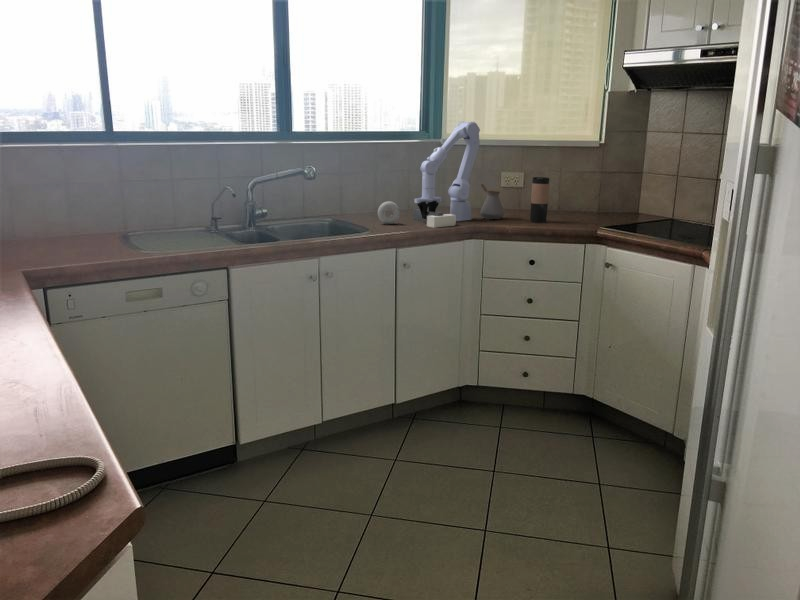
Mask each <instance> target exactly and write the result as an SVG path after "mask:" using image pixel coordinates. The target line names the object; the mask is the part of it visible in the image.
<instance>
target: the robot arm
mask: <svg viewBox="0 0 800 600" xmlns="http://www.w3.org/2000/svg"><path fill="white" fill-rule="evenodd" d="M478 125H479V124H477V122H475V121H461V122H459V123H458V124H457V126H455V127H454V129H453V130H452V132H451V134H450V135H449V136H448V138H447V139H446V140H445V141H444V142H443V144H442V145H441V146H438V147H436V148H434V149H433V152H432V153H431V154H430V155H429V156H428V157H426V160H424V161H422V162H421V164H420V165H421V166H420V167H419V170H420V172H421V174H422V178H421V197H417V198H414V199H413V200H414V204H417V207H418V209H420V211H421V215H422V219H426V217H427V210H430V211H436V209H437V208H438V206H439V203H440V202H442V196H436V195H435V193H436V173H437V172H438V170H439V166H440V165H441V164H442V163H443V161H444V160H446V158H447V157H448V152H449V150H450V149H451V148H452V147H453V146H455V144H456V143H457V142H458V141H459V140H461V139H463V140H464V142H465V144H466V147H465V150H464V154H463V157H462V160H461V163H460V166H459V170H458V173H457V175H456V178H455V179H454V180H453V181H452V184H451V186H449V188H448V191H447V193H448V196H449V197H450V204H449V205H450V209H449V210H450V211H449V214H452V215H456V222H461V221H462V222H463V221H471V220H473V218H471V217H472V204H471V201H469V200H467V199H468V198H469V196H470V188H471V185H470V183H469V180H470V177H471V173H472V170H473V167H474V163H475V161H476V157H477V154H478V151H479V148H480V144H481V143H480V131H481V129H480V127H479V126H478Z"/></svg>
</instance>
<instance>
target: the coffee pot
mask: <svg viewBox="0 0 800 600" xmlns="http://www.w3.org/2000/svg"><path fill="white" fill-rule="evenodd" d="M478 187H479V188H480V189H482V188H483V191H484V192H485V193H486V194H487V196H486V198H485V200H484V202H483V204H482V207H481V209H480V212H479V215H480V216H481V217H482V218H483V219H484V218H485V219H484V220H489V219H498V220H500V219H501V218H503V217H504V215H505V210H504V208H503V205H502V202H501V199H500V196H499V195H500V193H501V191H500V190H488V189H487V188H486V186H485V185H484V184H483V183H480V185H479V186H478Z"/></svg>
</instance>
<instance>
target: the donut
mask: <svg viewBox="0 0 800 600" xmlns="http://www.w3.org/2000/svg"><path fill="white" fill-rule="evenodd" d="M387 210H391V212H392V213H391V215H389V216H388V215H386V211H387ZM400 214H401V211H400V207H399V206H398V204H397V203H395V202H393V201H390V200H389V201H384V202H382V203H381V204H380V205H379V206H378V209H377V218H378V219H379V221H380V222H381V223H383V224H385V225H392V224H394V223H396V222H397V221H398V220H399V218H400Z"/></svg>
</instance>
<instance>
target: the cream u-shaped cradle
mask: <svg viewBox="0 0 800 600" xmlns="http://www.w3.org/2000/svg"><path fill="white" fill-rule="evenodd" d="M456 222H457V221H456V215H452V214H450V213H446V214H445V213H443V216H433V215H432V216H427V222H426V227H428V228H434V229H435V228H444V227H452V226H453V227H454V226H456V225H457V224H456Z"/></svg>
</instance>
